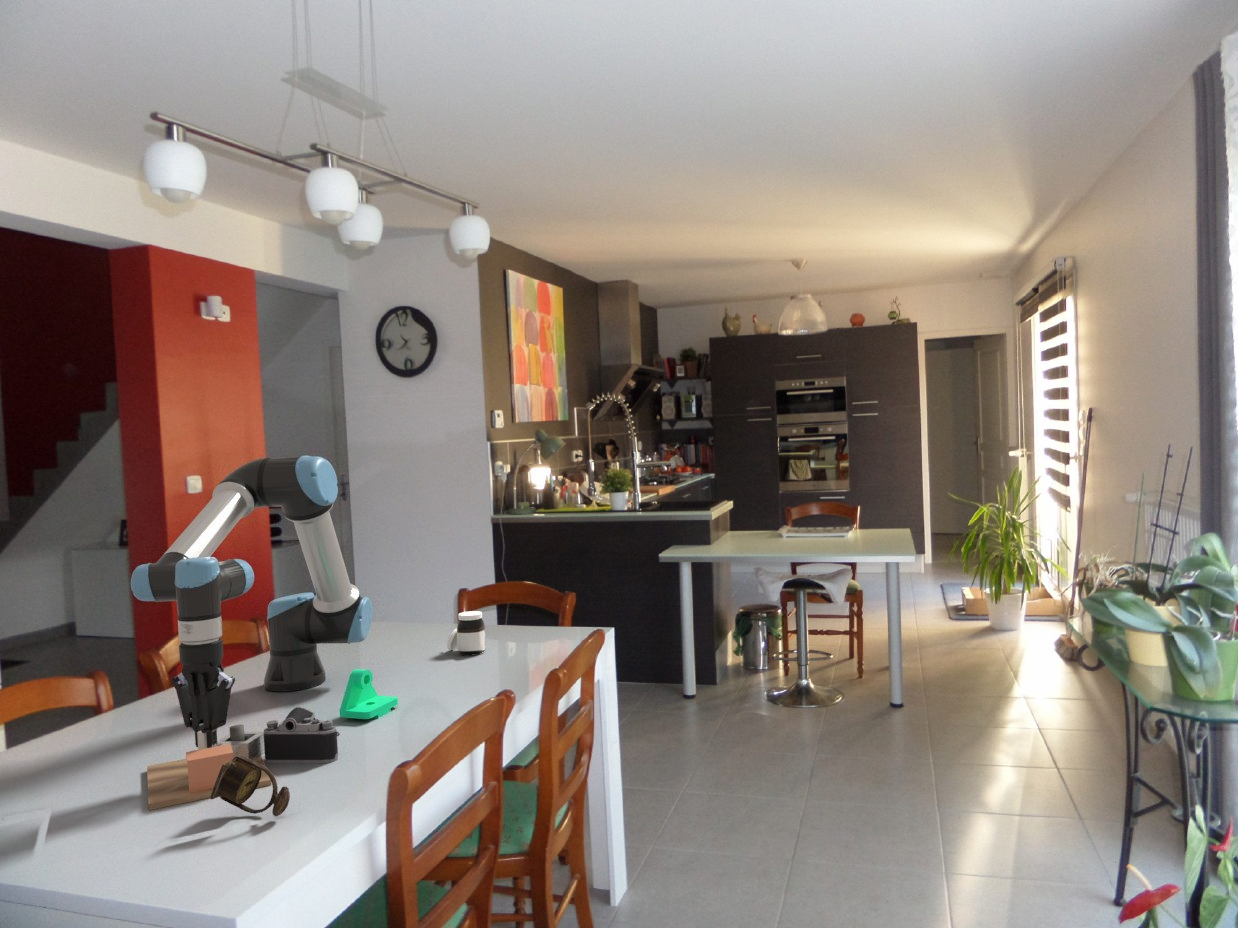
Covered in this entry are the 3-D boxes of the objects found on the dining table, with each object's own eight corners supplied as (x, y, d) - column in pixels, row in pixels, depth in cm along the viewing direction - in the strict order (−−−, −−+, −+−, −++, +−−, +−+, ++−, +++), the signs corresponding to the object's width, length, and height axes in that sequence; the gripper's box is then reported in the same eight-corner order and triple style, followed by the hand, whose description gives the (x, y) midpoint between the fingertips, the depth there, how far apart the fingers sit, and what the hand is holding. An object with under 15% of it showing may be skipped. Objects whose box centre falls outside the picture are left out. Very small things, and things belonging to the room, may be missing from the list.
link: (220, 783, 166) (219, 762, 166) (184, 783, 167) (183, 762, 167) (267, 751, 183) (266, 731, 183) (234, 751, 184) (233, 731, 183)
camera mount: (368, 724, 202) (366, 678, 201) (340, 721, 204) (337, 676, 204) (400, 708, 213) (397, 664, 212) (372, 705, 215) (370, 662, 215)
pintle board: (147, 770, 177) (145, 735, 177) (257, 750, 187) (255, 716, 186) (148, 809, 158) (146, 770, 158) (271, 784, 167) (269, 747, 167)
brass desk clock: (224, 807, 158) (220, 749, 157) (300, 801, 159) (296, 744, 158) (209, 824, 151) (205, 764, 150) (288, 818, 152) (285, 759, 151)
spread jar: (482, 657, 258) (480, 616, 258) (442, 658, 258) (440, 617, 258) (489, 647, 270) (487, 608, 270) (451, 648, 270) (449, 609, 270)
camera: (352, 748, 185) (350, 699, 185) (334, 763, 177) (331, 712, 177) (281, 748, 188) (278, 699, 187) (259, 762, 179) (257, 712, 179)
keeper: (187, 783, 167) (186, 751, 167) (232, 774, 170) (230, 743, 170) (189, 793, 162) (187, 760, 162) (235, 783, 166) (233, 752, 165)
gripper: (157, 643, 170) (164, 768, 171) (214, 645, 166) (221, 773, 167) (187, 634, 177) (194, 754, 178) (243, 636, 173) (249, 759, 174)
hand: (207, 763), depth 172 cm, fingers closed
